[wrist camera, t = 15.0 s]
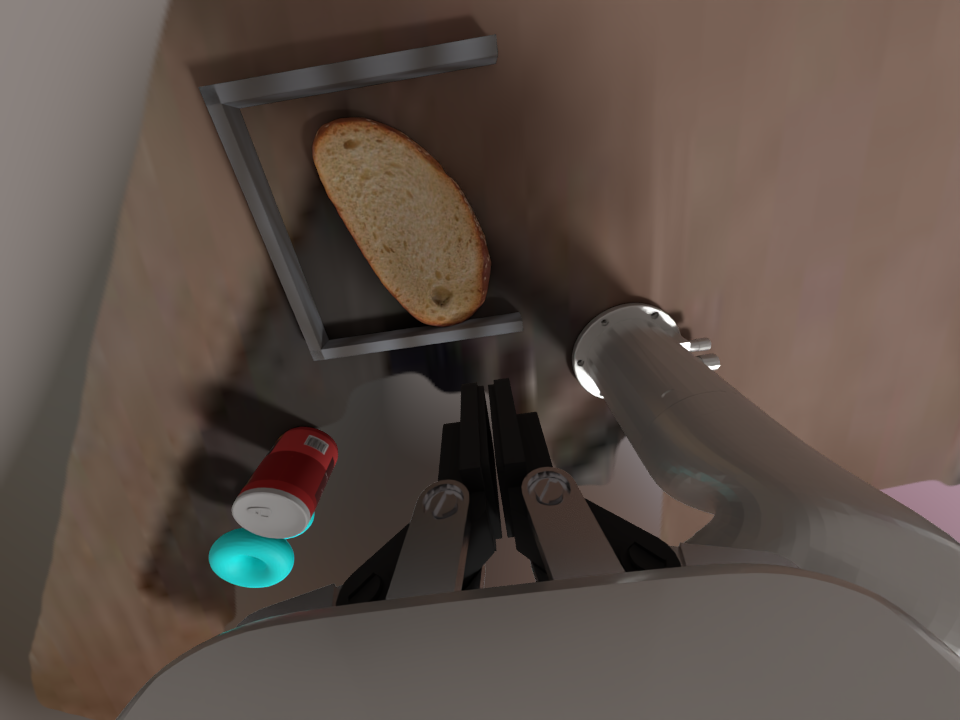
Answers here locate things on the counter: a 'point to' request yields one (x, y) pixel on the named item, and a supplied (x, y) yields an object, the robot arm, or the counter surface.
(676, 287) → the counter surface
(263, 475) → the canned food
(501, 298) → the counter surface
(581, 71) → the counter surface
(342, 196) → the bread slice
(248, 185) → the corral
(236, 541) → the donuts
